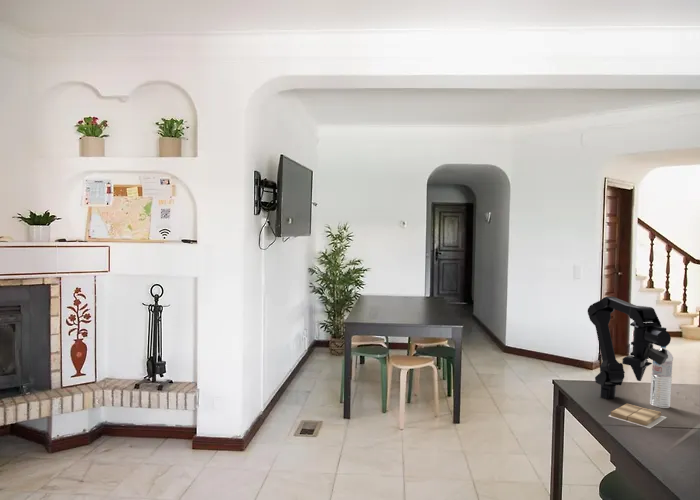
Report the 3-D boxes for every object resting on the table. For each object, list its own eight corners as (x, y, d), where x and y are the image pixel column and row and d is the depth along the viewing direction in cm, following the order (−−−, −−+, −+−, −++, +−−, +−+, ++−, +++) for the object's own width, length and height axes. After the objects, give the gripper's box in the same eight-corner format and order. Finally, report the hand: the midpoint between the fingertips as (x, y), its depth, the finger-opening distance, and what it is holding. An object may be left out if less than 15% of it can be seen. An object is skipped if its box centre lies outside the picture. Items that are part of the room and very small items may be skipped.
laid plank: (626, 407, 195) (627, 403, 195) (642, 411, 191) (642, 407, 191) (610, 415, 185) (610, 411, 185) (626, 420, 181) (626, 416, 181)
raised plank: (643, 411, 191) (643, 407, 191) (661, 416, 186) (661, 411, 186) (627, 420, 181) (627, 416, 181) (646, 425, 176) (646, 421, 176)
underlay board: (626, 408, 196) (626, 406, 196) (666, 420, 186) (666, 417, 186) (607, 418, 185) (608, 415, 185) (649, 431, 175) (650, 428, 175)
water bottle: (672, 411, 195) (676, 347, 194) (653, 409, 197) (657, 346, 195) (665, 405, 202) (669, 343, 201) (646, 403, 203) (650, 342, 202)
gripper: (656, 348, 178) (653, 391, 179) (674, 341, 190) (671, 381, 191) (623, 341, 186) (620, 383, 187) (642, 335, 198) (639, 374, 199)
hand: (639, 380), depth 191 cm, fingers closed
